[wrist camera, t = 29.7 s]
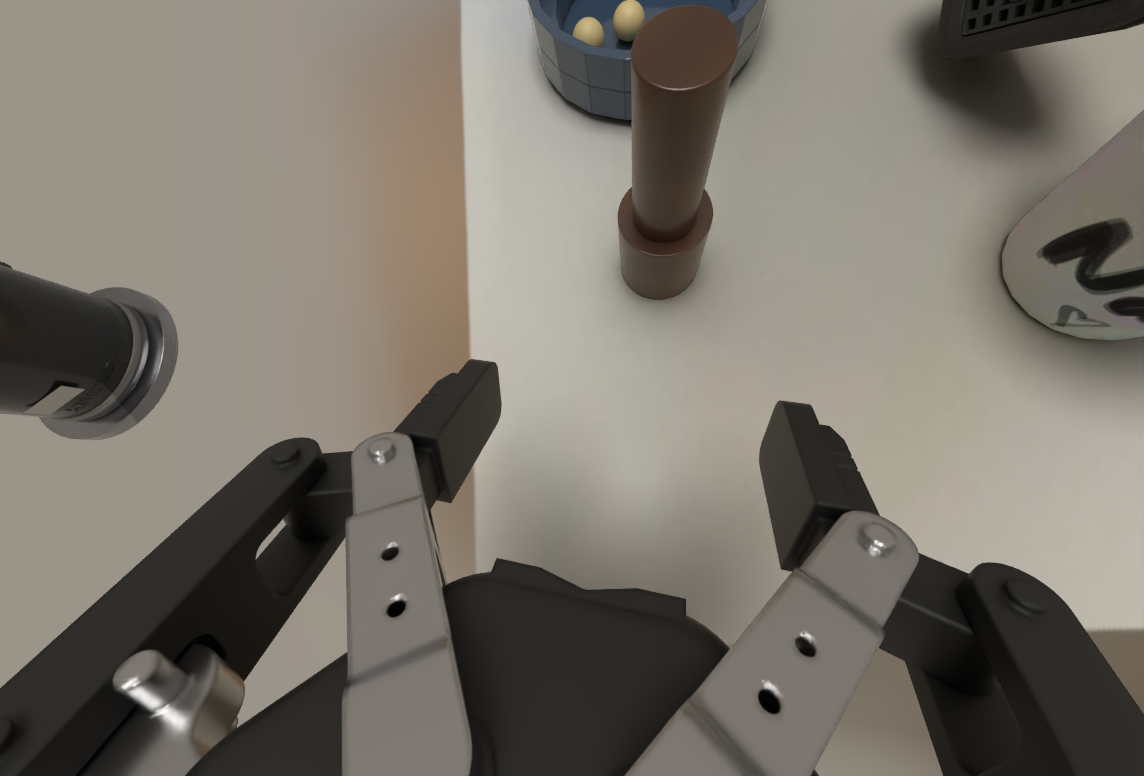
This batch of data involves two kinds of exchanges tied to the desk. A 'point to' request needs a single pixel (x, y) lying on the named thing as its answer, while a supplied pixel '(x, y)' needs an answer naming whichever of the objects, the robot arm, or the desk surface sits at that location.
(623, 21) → the bean
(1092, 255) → the mug
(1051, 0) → the headphones
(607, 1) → the bowl
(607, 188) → the desk surface
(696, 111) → the pestle
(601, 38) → the bean
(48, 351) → the robot arm
